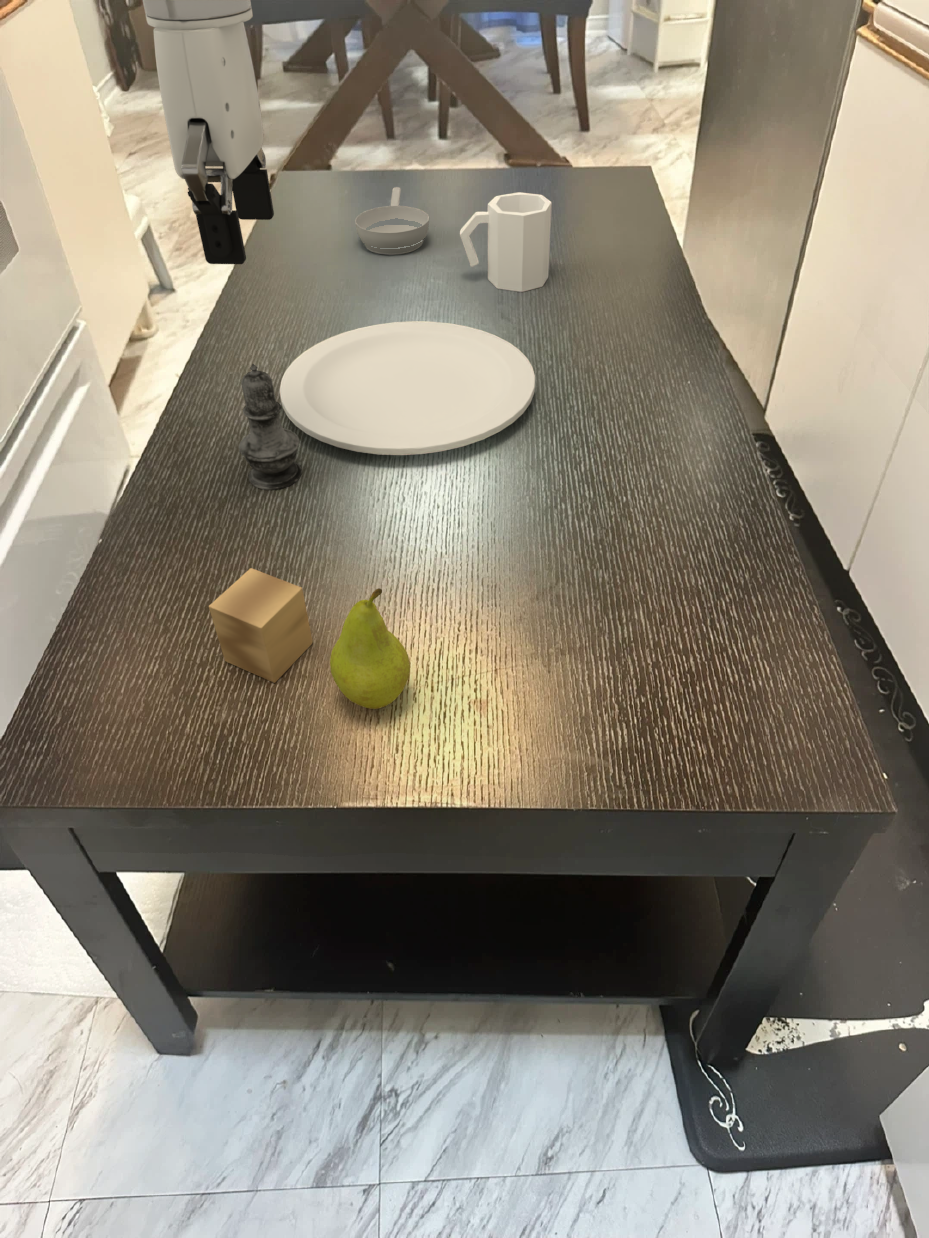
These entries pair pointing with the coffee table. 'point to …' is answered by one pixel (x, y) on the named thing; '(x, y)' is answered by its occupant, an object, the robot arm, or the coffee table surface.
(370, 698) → the fruit
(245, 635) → the maple block
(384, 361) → the plate
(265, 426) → the grey chess bishop
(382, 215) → the small pan
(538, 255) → the mug
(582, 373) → the coffee table surface
